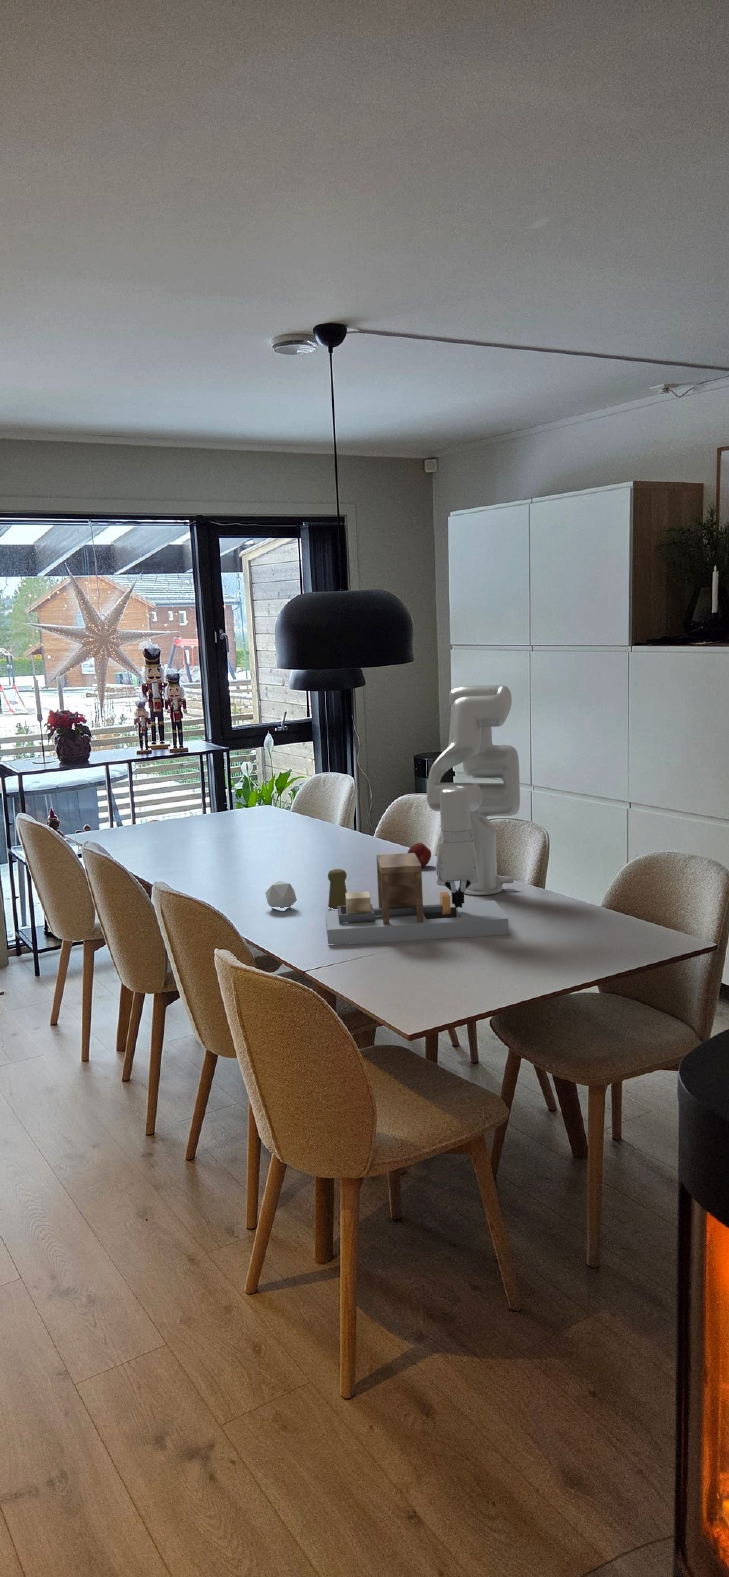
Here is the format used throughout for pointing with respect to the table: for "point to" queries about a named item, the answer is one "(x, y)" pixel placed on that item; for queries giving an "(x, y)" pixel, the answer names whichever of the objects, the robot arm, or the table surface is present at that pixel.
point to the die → (281, 895)
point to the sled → (395, 910)
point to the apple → (421, 853)
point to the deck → (421, 925)
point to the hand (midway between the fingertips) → (458, 906)
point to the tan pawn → (337, 888)
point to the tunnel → (399, 883)
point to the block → (358, 902)
